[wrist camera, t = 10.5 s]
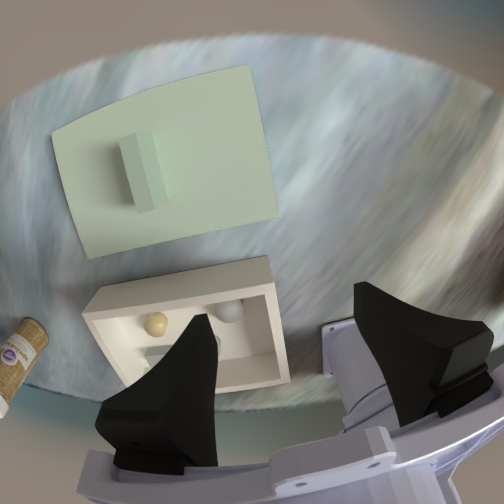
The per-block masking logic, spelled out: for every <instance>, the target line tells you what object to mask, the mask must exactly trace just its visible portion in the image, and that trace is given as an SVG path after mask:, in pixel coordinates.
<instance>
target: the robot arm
mask: <svg viewBox="0 0 504 504" xmlns="http://www.w3.org/2000/svg"><path fill="white" fill-rule="evenodd" d="M332 327H333V328H332ZM330 328H332V329H330ZM321 330H322V353H323V375H324V376H325V377H329V376H333V375H334V378H335V381H336V384H337V386H338V389H339V392H340V395H341V398H342V401H343V403H344V406H345V409H346V412H347V416H346V417H344V418H343V423H344V426H345V429H343V430H341V431H340V432H339V434H338V435H337V436H333V437H330V438H325V439H321V440H317V441H312V442H308V443H303V444H298V445H294V446H290V447H287V448H283V449H281V450H279V451H277V452H276V453H274V454H273V455H271V457H270V460H269V462H268V463H259V464H249V465H238V466H220V467H218V460H217V451H216V439H215V423H214V398H215V388H216V379H217V369H218V344H217V341H216V338H215V335H214V333H213V330H212V327H211V324H210V321H209V318H208V315H207V313H205V314H198V315H194V317H193V318H192V319H191V321H190V322H189V324H188V325H187V327H186V328H185V330H184V331H183V332H182V334H181V335H180V337H179V338H178V339H177V341H176V342H175V343H174V345H173V346H172V347H171V348H170V349H169V351H168V352H167V353H166V354H165V355H164V357H163V358H162V359H161V360H160V361H159V362H158V363H157V364H156V365H155V366H154V367H153V368H152V369H151V370H149V371H148V372H147V373H146V374H145V375H143V376H142V377H141V378H140V379H139V380H137V381H136V382H135V383H133V384H132V385H130V386H129V387H127V388H126V389H124V390H123V391H121V392H119V393H118V394H116V395H114V396H112V397H110V398H108V399H106V400H104V401H103V403H102V406H101V408H100V411H99V414H98V417H97V419H96V422H95V427H96V429H97V431H98V432H99V434H100V435H101V436H102V437H103V438H104V439H105V440H106V441H107V442H109V443H110V444H111V445H112V446H113V447H114V448H115V449H116V453H115V455H113V454H111V453H108V452H103V451H98V450H92V449H88V452H87V455H86V458H85V462H84V465H83V468H82V472H81V475H80V479H79V483H78V486H77V490H76V492H77V493H78V494H79V495H81V496H83V497H85V498H86V499H88V500H90V501H92V502H94V503H96V504H462V502H461V500H460V498H459V495H458V493H457V491H456V489H455V487H454V485H453V482H452V480H451V476H452V474H453V472H454V470H455V468H456V467H457V465H458V463H459V462H461V461H462V460H464V459H465V458H467V457H468V456H470V455H471V454H472V453H474V452H475V451H476V450H477V449H479V448H481V447H482V446H483V445H485V444H486V443H487V442H489V441H490V440H491V439H492V438H494V437H495V436H496V435H498V434H499V433H500V432H501V431H503V430H504V363H503V364H502V365H500V366H499V367H498V368H496V369H495V370H494V371H492V373H491V374H490V375H489V374H488V372H487V371H486V370H487V369H488V366H487V364H486V363H485V360H486V358H487V356H488V354H489V352H490V349H491V347H492V344H493V340H494V334H493V332H492V331H491V330H490V329H489V328H488V327H487V326H486V325H485V324H484V323H483V322H482V321H469V320H460V319H454V318H449V317H444V316H440V315H437V314H433V313H430V312H427V311H424V310H421V309H419V308H416V307H414V306H411V305H409V304H407V303H405V302H403V301H401V300H399V299H397V298H395V297H393V296H391V295H389V294H388V293H386V292H384V291H382V290H381V289H379V288H377V287H375V286H373V285H372V284H370V283H368V282H366V281H364V282H360V283H356V284H354V318H351V319H347V320H343V321H339V322H335V323H331V324H327V325H324V326H323V327H322V329H321Z"/></svg>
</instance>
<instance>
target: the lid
mask: <svg viewBox="0 0 504 504" xmlns="http://www.w3.org/2000/svg"><path fill="white" fill-rule="evenodd" d="M51 136H52V141H53V146H54V151H55V156H56V160H57V164H58V169H59V173H60V177H61V180H62V184H63V188H64V191H65V195H66V198H67V201H68V205H69V208H70V211H71V214H72V217H73V220H74V223H75V226H76V229H77V232H78V235H79V238H80V240H81V243H82V246H83V248H84V251H85V253H86V256H87V258H88V260H90V259H94V258H98V257H102V256H106V255H110V254H115V253H119V252H123V251H127V250H131V249H135V248H140V247H144V246H148V245H153V244H157V243H161V242H166V241H170V240H175V239H179V238H184V237H188V236H193V235H197V234H202V233H207V232H211V231H216V230H221V229H226V228H230V227H235V226H240V225H245V224H250V223H255V222H260V221H265V220H270V219H275V218H279V213H278V208H277V202H276V196H275V191H274V185H273V179H272V174H271V169H270V163H269V158H268V153H267V147H266V142H265V137H264V132H263V127H262V122H261V117H260V112H259V107H258V103H257V98H256V93H255V89H254V84H253V79H252V75H251V70H250V66H249V65H246V66H240V67H235V68H229V69H224V70H219V71H215V72H210V73H206V74H202V75H198V76H194V77H190V78H186V79H182V80H179V81H175V82H172V83H168V84H165V85H162V86H159V87H156V88H153V89H150V90H147V91H144V92H141V93H138V94H136V95H133V96H130V97H128V98H125V99H122V100H120V101H117V102H115V103H113V104H110V105H108V106H105V107H103V108H101V109H99V110H96V111H94V112H92V113H90V114H88V115H86V116H84V117H81V118H79V119H77V120H75V121H73V122H71V123H70V124H68V125H66V126H64V127H62V128H60V129H58V130H56V131H55V132H53V133H51Z"/></svg>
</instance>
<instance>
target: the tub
mask: <svg viewBox="0 0 504 504" xmlns="http://www.w3.org/2000/svg"><path fill="white" fill-rule="evenodd" d="M205 313H207V315H208V318H209V321H210V324H211V327H212V330H213V333H214V335H215V338H216V341H217V344H218V369H217V379H216V388H215V394H216V393H225V392H234V391H242V390H249V389H256V388H262V387H268V386H274V385H279V384H285V383H290V382H291V381H290V374H289V368H288V362H287V356H286V349H285V343H284V337H283V331H282V325H281V319H280V313H279V307H278V302H277V296H276V290H275V284H274V280H273V275H272V271H271V267H270V263H269V259H268V255H267V256H262V257H256V258H251V259H246V260H241V261H236V262H231V263H225V264H220V265H215V266H210V267H204V268H199V269H194V270H189V271H183V272H178V273H173V274H167V275H162V276H157V277H151V278H146V279H141V280H135V281H130V282H124V283H119V284H114V285H108V286H103V287H100V289H99V290H98V291H97V292H96V294H95V295H94V296H93V298H92V299H91V300H90V302H89V303H88V305H87V306H86V307H85V309H84V310H83V311H82V313H81V315H82V316H83V318H84V320H85V322H86V324H87V326H88V327H89V329H90V331H91V333H92V334H93V336H94V338H95V340H96V341H97V343H98V345H99V346H100V348H101V349H102V351H103V353H104V354H105V356H106V357H107V359H108V361H109V362H110V364H111V365H112V367H113V368H114V370H115V371H116V373H117V374H118V376H119V377H120V378H121V380H122V381H123V383H124V384H125V386H126V387H129V386H130V385H132V384H133V383H135V382H136V381H137V380H139V379H140V378H141V377H142V376H143V375H145V374H146V373H147V372H148V371H149V370H151V369H152V368H153V367H154V366H155V365H156V364H157V363H158V362H159V361H160V360H161V359H162V358H163V357H164V355H165V354H166V353H167V352H168V351H169V349H170V348H171V347H172V346H173V345H174V343H175V342H176V341H177V339H178V338H179V337H180V335H181V334H182V332H183V331H184V330H185V328H186V327H187V325H188V324H189V322H190V321H191V319H192V318H193V317H194V315H198V314H205Z"/></svg>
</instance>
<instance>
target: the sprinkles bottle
mask: <svg viewBox="0 0 504 504" xmlns="http://www.w3.org/2000/svg"><path fill="white" fill-rule="evenodd" d="M48 341H49V339H48V336H47V334H46V332H45V330H44V329H43V327H42V326H41V325H40V324H39V323H38V322H36V321H35V320H33V319H31V318H26V319H24V320H23V322H22V324H21V325H20V326H19V328H18V329H17V330H16V331H15V332H14V333H13V334H12V335H11V336H10V337H9V339H8V340H7V341H6V342H5V344H4V345H3V346H2V348H1V349H0V418H3V417H4V416H5V414H6V412H7V410H8V408H9V404H10V401H11V400H12V398H13V396H14V394H15V393H16V391H17V390H18V388H19V387H20V386H21V384H22V383H23V381H24V379H25V378H26V376H27V374H28V373H29V371H30V370H31V368H32V367H33V365H34V363H35V362H36V360H37V357H38V356H39V355H40V353H41V352H42V350H43V349H44V347H46V346H47V345H48Z"/></svg>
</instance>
